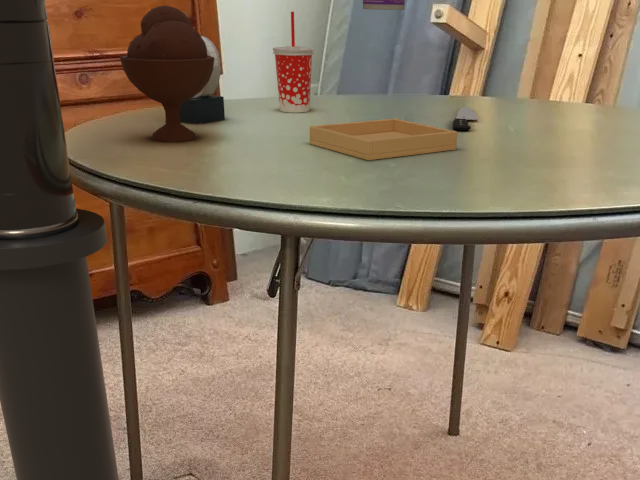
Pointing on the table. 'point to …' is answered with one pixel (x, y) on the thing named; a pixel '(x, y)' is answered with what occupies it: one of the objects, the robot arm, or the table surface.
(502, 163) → the table surface
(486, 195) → the table surface
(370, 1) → the container
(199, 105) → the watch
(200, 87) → the ice cream bowl
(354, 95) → the table surface
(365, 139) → the tray
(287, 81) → the beverage cup
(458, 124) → the kitchen knife
